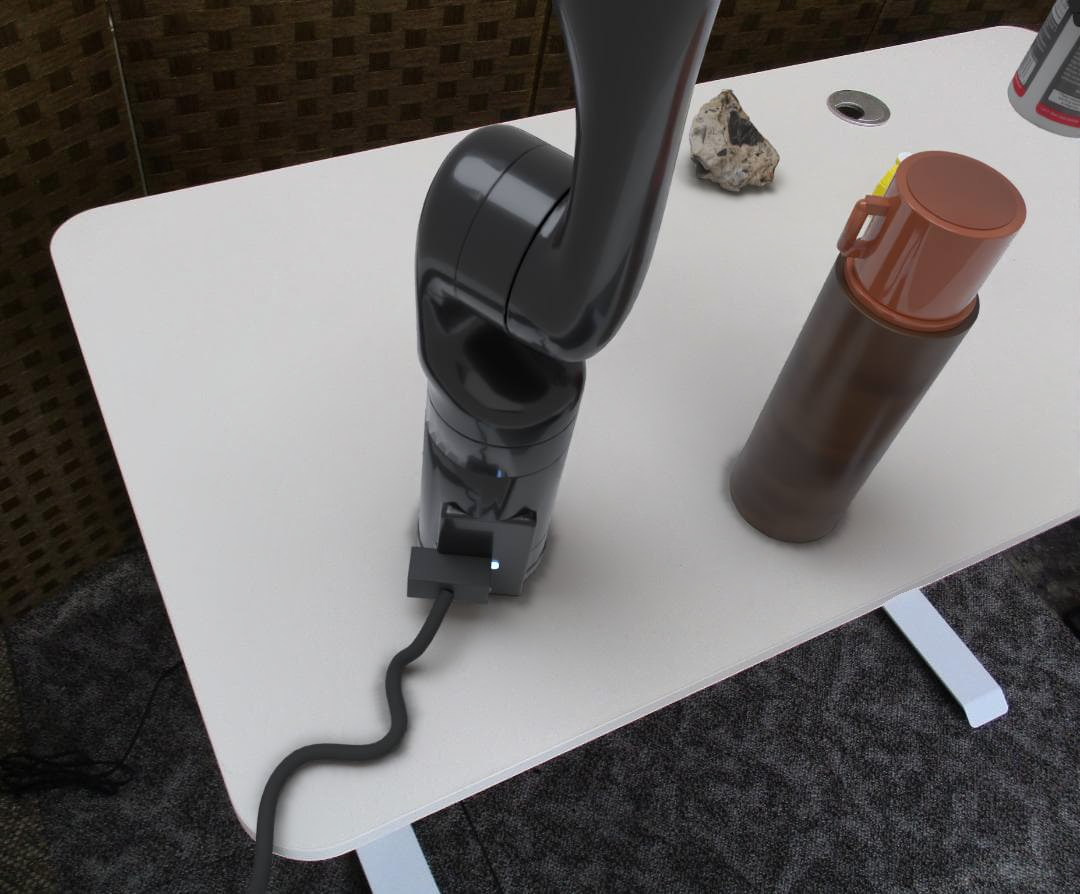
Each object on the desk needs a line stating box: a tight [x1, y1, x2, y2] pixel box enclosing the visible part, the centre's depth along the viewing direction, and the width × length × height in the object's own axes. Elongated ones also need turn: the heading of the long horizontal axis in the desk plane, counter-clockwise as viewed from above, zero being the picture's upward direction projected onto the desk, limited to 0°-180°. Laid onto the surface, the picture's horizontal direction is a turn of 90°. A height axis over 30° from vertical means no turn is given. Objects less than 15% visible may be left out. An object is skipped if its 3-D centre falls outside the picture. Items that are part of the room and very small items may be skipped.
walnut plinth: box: [729, 236, 981, 544], centre depth 69 cm, size 9×9×23 cm
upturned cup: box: [836, 150, 1027, 332], centre depth 57 cm, size 8×9×7 cm
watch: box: [871, 151, 914, 197], centre depth 100 cm, size 6×3×6 cm, turn 126°
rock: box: [688, 88, 781, 192], centre depth 100 cm, size 9×7×10 cm
